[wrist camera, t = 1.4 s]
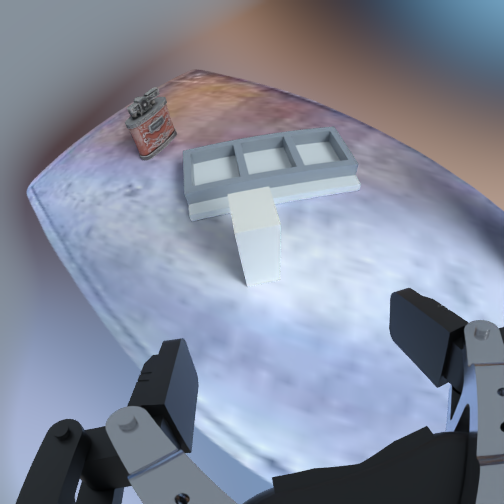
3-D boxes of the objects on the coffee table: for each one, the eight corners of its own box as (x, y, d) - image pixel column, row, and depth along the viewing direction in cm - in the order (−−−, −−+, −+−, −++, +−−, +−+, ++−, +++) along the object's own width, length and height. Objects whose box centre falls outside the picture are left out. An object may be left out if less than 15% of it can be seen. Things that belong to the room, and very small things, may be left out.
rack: (327, 136, 41) (329, 120, 38) (359, 190, 35) (364, 173, 32) (188, 159, 41) (182, 143, 38) (191, 221, 35) (184, 205, 32)
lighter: (149, 162, 41) (128, 112, 33) (136, 158, 43) (115, 110, 34) (181, 133, 45) (166, 84, 36) (167, 130, 46) (152, 83, 37)
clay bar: (271, 248, 32) (269, 186, 23) (280, 280, 30) (280, 224, 21) (240, 254, 32) (227, 194, 23) (247, 286, 30) (234, 233, 21)
